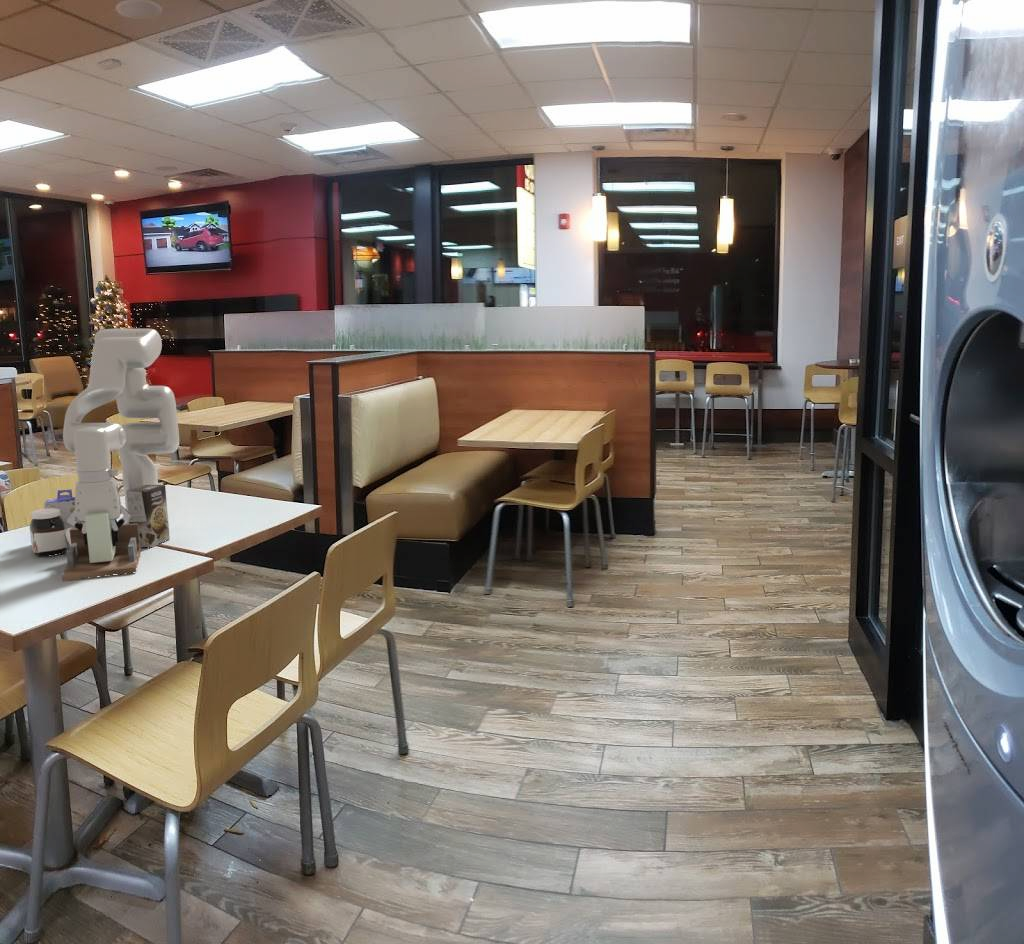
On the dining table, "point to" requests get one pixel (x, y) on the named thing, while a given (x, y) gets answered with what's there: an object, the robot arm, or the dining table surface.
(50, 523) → the spread jar
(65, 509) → the ink cartridge box
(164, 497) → the coffee box
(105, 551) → the pale green box
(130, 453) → the robot arm
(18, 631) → the dining table surface
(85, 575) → the shelf
